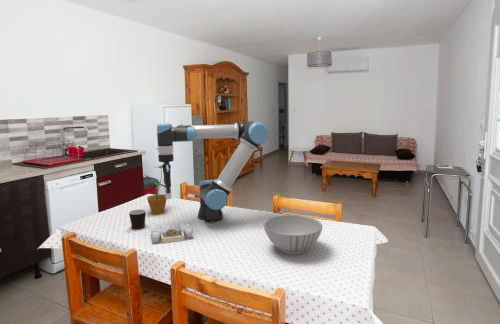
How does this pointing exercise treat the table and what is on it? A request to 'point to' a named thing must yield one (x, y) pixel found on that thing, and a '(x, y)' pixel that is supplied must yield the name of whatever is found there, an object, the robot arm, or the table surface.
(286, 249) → the decorative bowl
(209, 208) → the robot arm
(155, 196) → the potted plant
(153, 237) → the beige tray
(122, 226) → the table surface
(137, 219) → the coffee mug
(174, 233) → the nut
